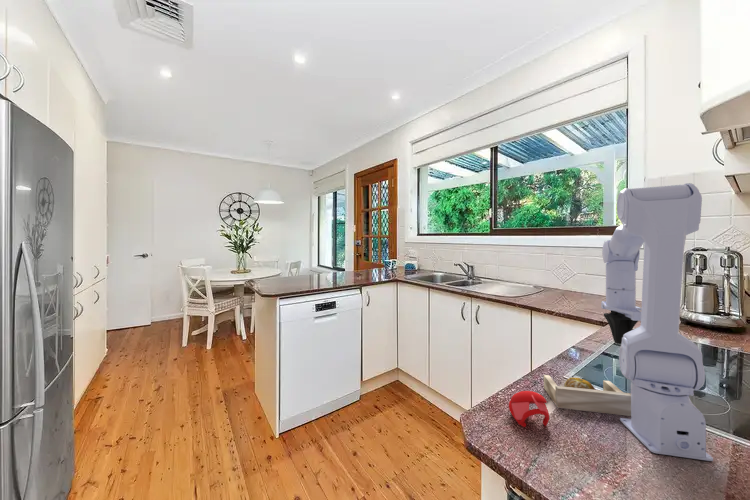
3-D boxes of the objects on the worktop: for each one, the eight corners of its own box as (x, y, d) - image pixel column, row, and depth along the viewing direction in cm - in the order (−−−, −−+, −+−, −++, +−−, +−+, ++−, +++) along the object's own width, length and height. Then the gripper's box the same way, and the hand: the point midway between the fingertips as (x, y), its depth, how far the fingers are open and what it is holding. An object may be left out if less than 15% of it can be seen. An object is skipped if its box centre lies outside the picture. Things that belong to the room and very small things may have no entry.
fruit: (547, 393, 67) (547, 377, 67) (568, 385, 71) (568, 370, 71) (587, 411, 60) (587, 393, 60) (608, 401, 63) (608, 384, 63)
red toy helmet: (564, 416, 52) (547, 385, 57) (536, 408, 51) (521, 377, 56) (535, 437, 56) (521, 407, 61) (509, 431, 55) (497, 400, 60)
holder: (634, 416, 57) (634, 396, 57) (557, 407, 60) (557, 388, 60) (609, 394, 66) (609, 376, 66) (543, 387, 69) (543, 370, 69)
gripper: (660, 293, 65) (660, 354, 65) (622, 285, 79) (622, 335, 79) (622, 292, 66) (622, 351, 66) (592, 285, 80) (592, 334, 80)
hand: (620, 343), depth 73 cm, fingers closed
